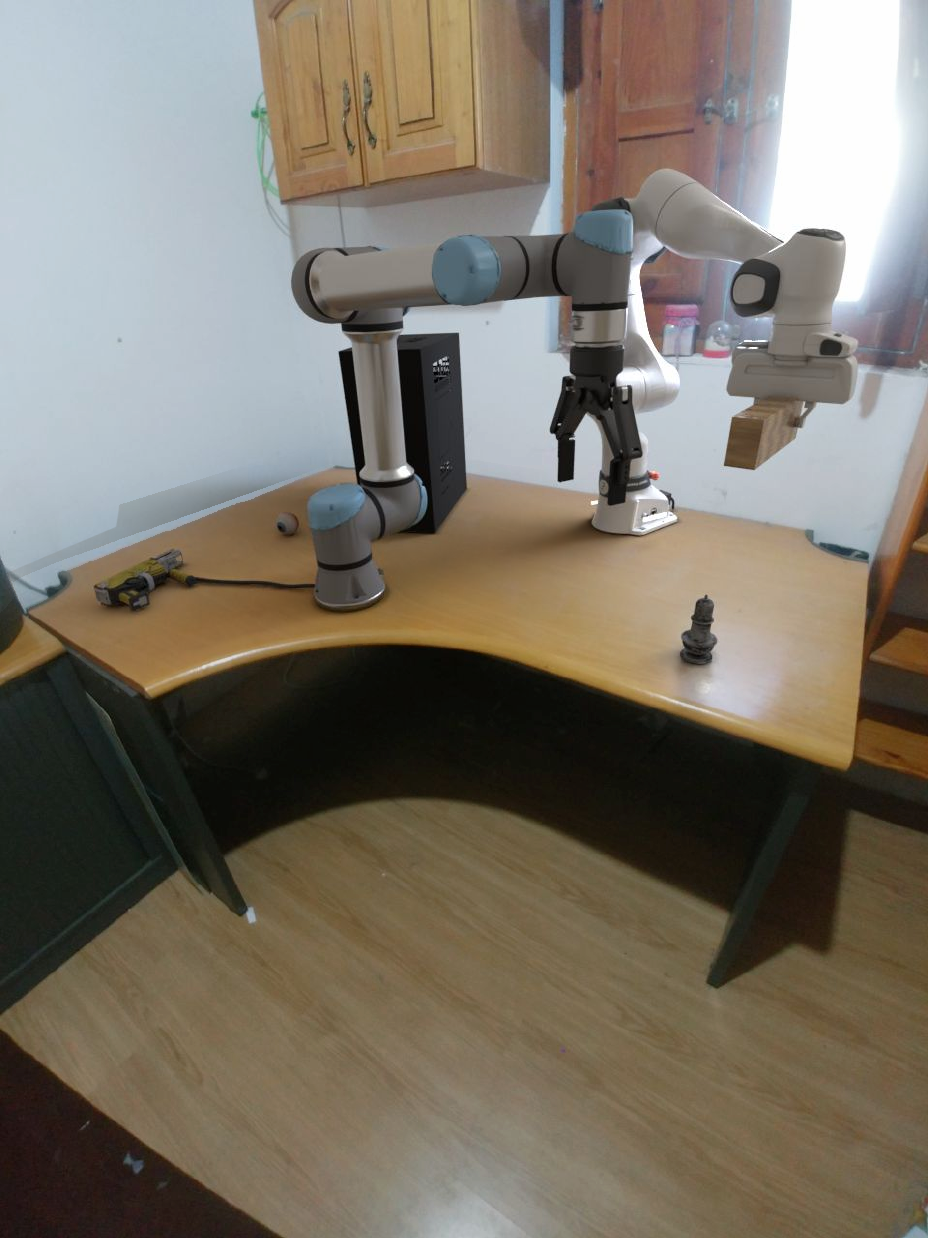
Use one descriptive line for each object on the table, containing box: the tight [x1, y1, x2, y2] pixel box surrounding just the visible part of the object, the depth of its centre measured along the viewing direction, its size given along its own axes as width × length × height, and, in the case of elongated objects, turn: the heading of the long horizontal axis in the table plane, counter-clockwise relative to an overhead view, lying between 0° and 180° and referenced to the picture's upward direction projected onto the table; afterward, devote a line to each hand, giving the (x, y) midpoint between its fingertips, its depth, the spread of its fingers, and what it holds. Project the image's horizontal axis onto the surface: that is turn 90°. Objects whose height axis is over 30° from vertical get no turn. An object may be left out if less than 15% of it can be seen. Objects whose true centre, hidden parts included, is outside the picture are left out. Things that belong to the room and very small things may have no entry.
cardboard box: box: [338, 332, 468, 534], centre depth 167 cm, size 38×20×45 cm, turn 167°
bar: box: [723, 396, 805, 471], centre depth 103 cm, size 23×5×8 cm, turn 140°
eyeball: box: [275, 511, 300, 536], centre depth 163 cm, size 6×6×6 cm
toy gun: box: [93, 548, 197, 612], centre depth 139 cm, size 5×24×15 cm
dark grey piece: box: [679, 593, 718, 665], centre depth 102 cm, size 6×6×12 cm
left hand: (589, 491), depth 95 cm, fingers open, 13 cm apart
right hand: (779, 425), depth 109 cm, fingers closed on bar, 5 cm apart
